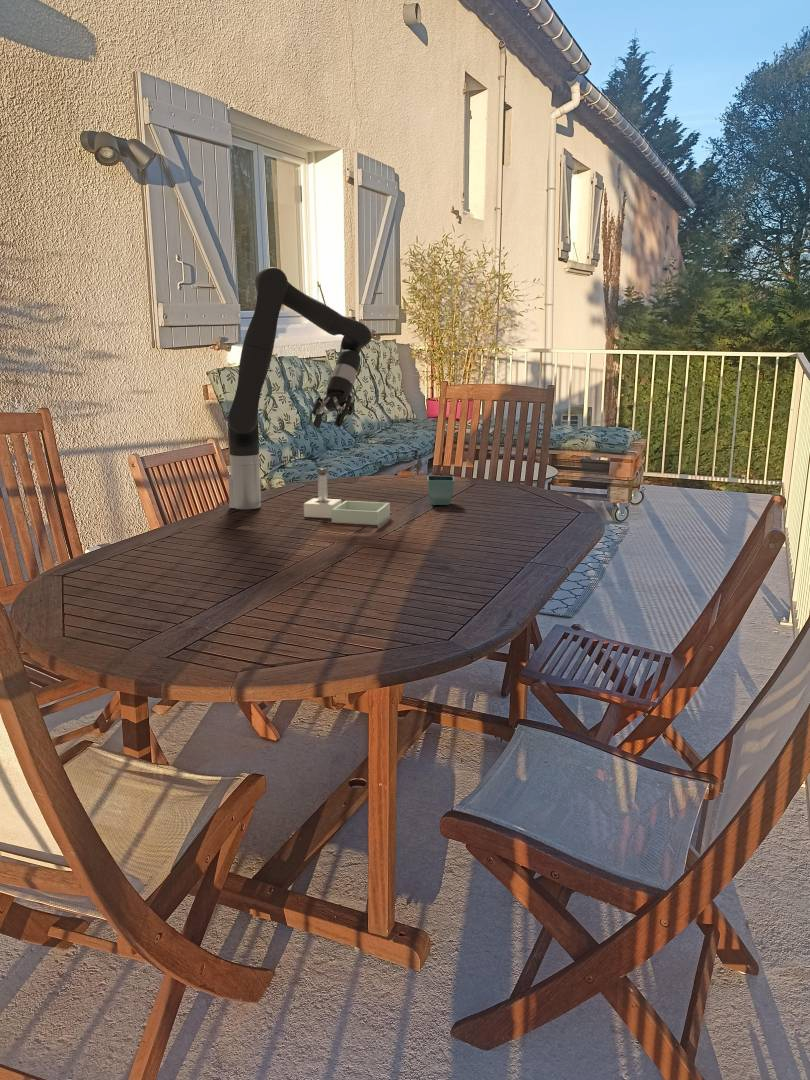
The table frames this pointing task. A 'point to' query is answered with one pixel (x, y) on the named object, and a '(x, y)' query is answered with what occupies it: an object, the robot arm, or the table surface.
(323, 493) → the steel pin
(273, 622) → the table surface
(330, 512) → the socket block
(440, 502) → the flower pot
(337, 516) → the tray
